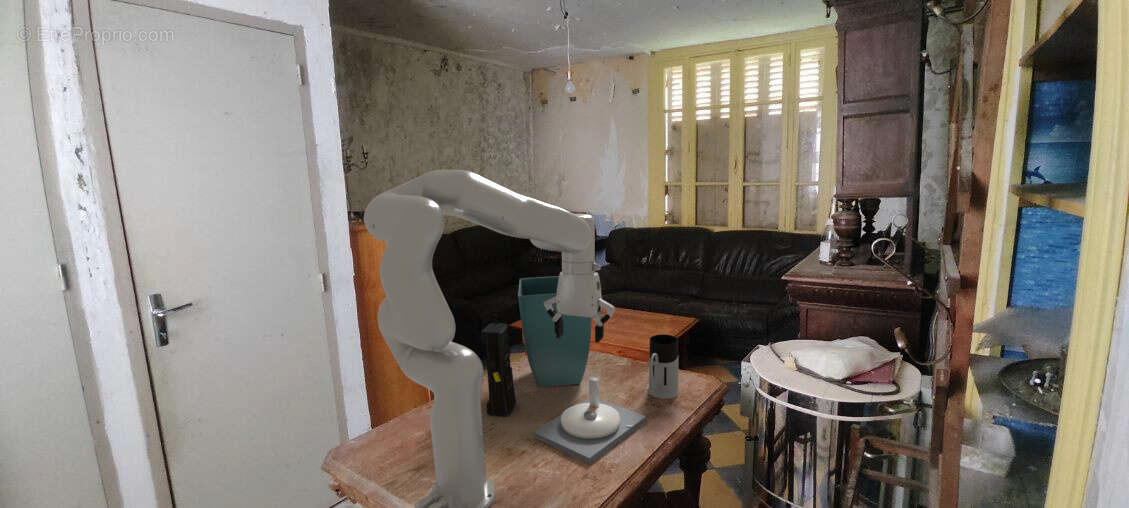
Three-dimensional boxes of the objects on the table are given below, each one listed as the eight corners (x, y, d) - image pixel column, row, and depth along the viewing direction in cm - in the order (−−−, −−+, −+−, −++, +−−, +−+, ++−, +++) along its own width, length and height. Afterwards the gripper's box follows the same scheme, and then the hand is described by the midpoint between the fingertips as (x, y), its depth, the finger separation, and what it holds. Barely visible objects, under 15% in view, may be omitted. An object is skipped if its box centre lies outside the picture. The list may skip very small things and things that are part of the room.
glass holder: (684, 387, 145) (684, 336, 142) (667, 410, 133) (667, 355, 130) (653, 381, 149) (653, 331, 146) (635, 403, 137) (634, 349, 134)
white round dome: (615, 441, 117) (615, 406, 115) (554, 435, 120) (553, 401, 118) (623, 410, 130) (623, 378, 128) (568, 406, 133) (567, 375, 131)
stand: (590, 464, 112) (590, 457, 111) (533, 437, 123) (532, 430, 122) (647, 422, 128) (647, 415, 127) (591, 401, 139) (591, 395, 138)
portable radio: (508, 419, 131) (502, 324, 126) (485, 417, 133) (478, 323, 128) (517, 404, 139) (511, 314, 134) (495, 402, 140) (489, 313, 135)
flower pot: (524, 364, 164) (519, 277, 158) (587, 361, 165) (585, 274, 159) (523, 394, 144) (517, 295, 139) (595, 389, 145) (592, 291, 140)
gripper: (619, 266, 121) (618, 337, 124) (549, 262, 127) (551, 330, 130) (610, 273, 114) (609, 348, 117) (537, 268, 120) (539, 339, 123)
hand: (578, 338), depth 124 cm, fingers open, 9 cm apart
